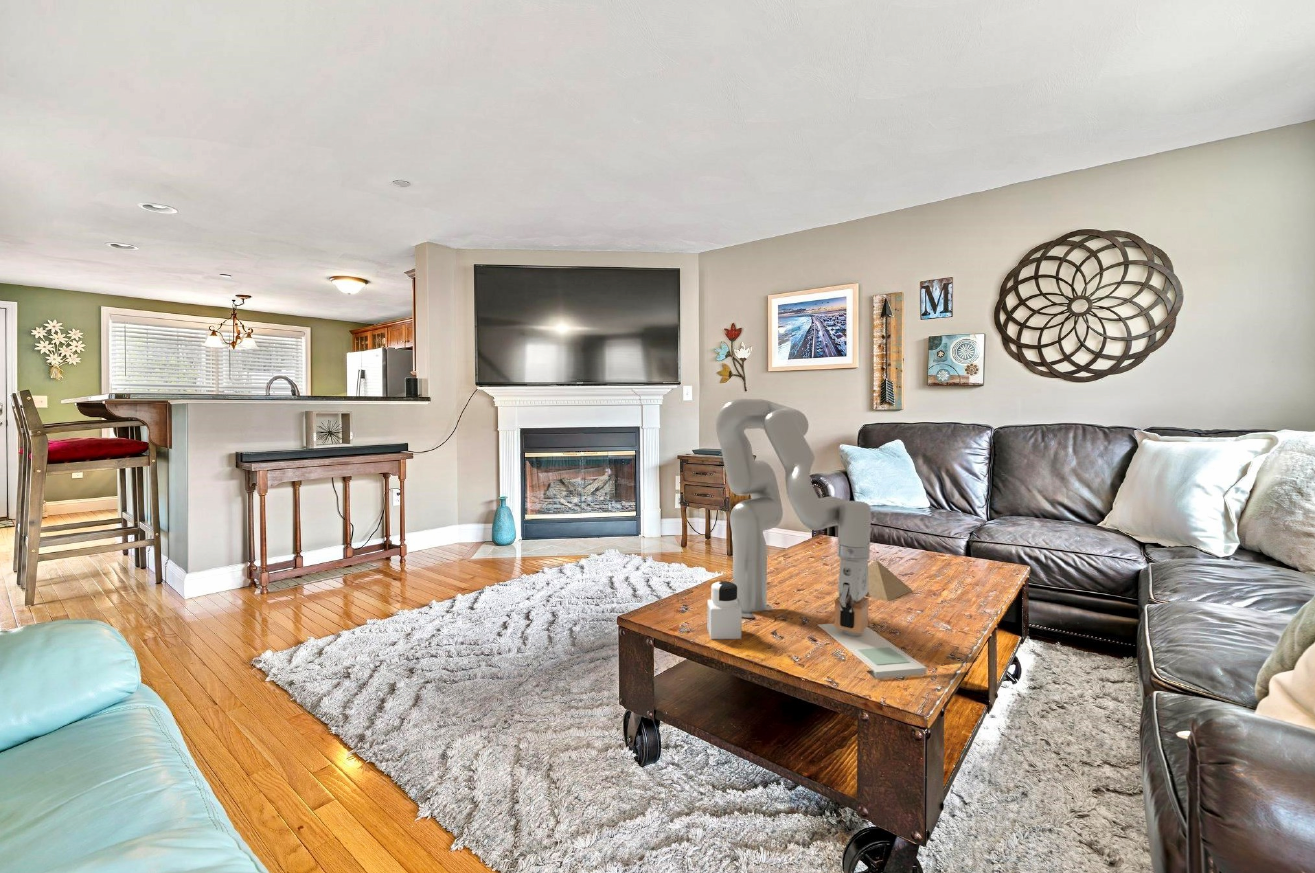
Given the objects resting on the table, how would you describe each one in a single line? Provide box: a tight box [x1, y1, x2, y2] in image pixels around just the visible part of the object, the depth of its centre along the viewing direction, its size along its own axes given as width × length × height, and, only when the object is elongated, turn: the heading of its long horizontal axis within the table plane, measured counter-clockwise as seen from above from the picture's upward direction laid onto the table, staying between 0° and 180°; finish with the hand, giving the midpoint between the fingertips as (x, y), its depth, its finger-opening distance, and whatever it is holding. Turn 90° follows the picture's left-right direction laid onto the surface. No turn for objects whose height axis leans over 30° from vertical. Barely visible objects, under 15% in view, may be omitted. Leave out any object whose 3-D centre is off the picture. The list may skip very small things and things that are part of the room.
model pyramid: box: [864, 559, 913, 602], centre depth 188 cm, size 17×17×10 cm
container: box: [706, 580, 743, 640], centre depth 151 cm, size 8×8×13 cm
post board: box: [817, 623, 928, 680], centre depth 141 cm, size 12×28×6 cm, turn 10°
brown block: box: [833, 596, 870, 634], centre depth 148 cm, size 6×6×7 cm
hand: (851, 621), depth 148 cm, fingers closed on brown block, 6 cm apart
